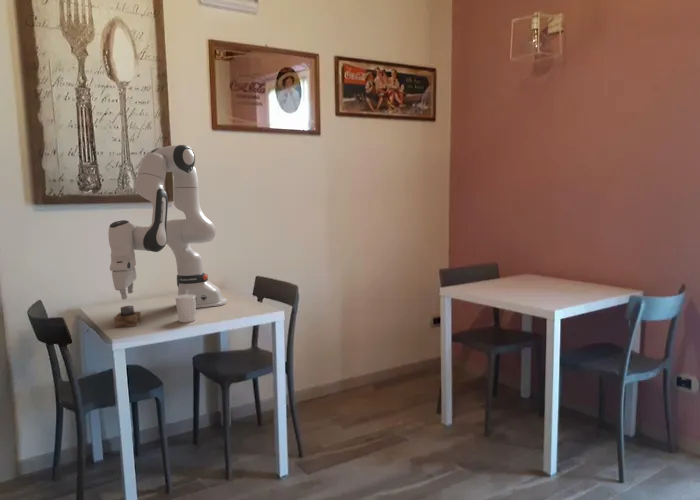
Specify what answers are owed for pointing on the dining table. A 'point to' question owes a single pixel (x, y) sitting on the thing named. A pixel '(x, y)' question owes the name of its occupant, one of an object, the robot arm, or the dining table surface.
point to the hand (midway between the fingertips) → (127, 296)
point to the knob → (127, 310)
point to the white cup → (186, 307)
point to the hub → (127, 320)
